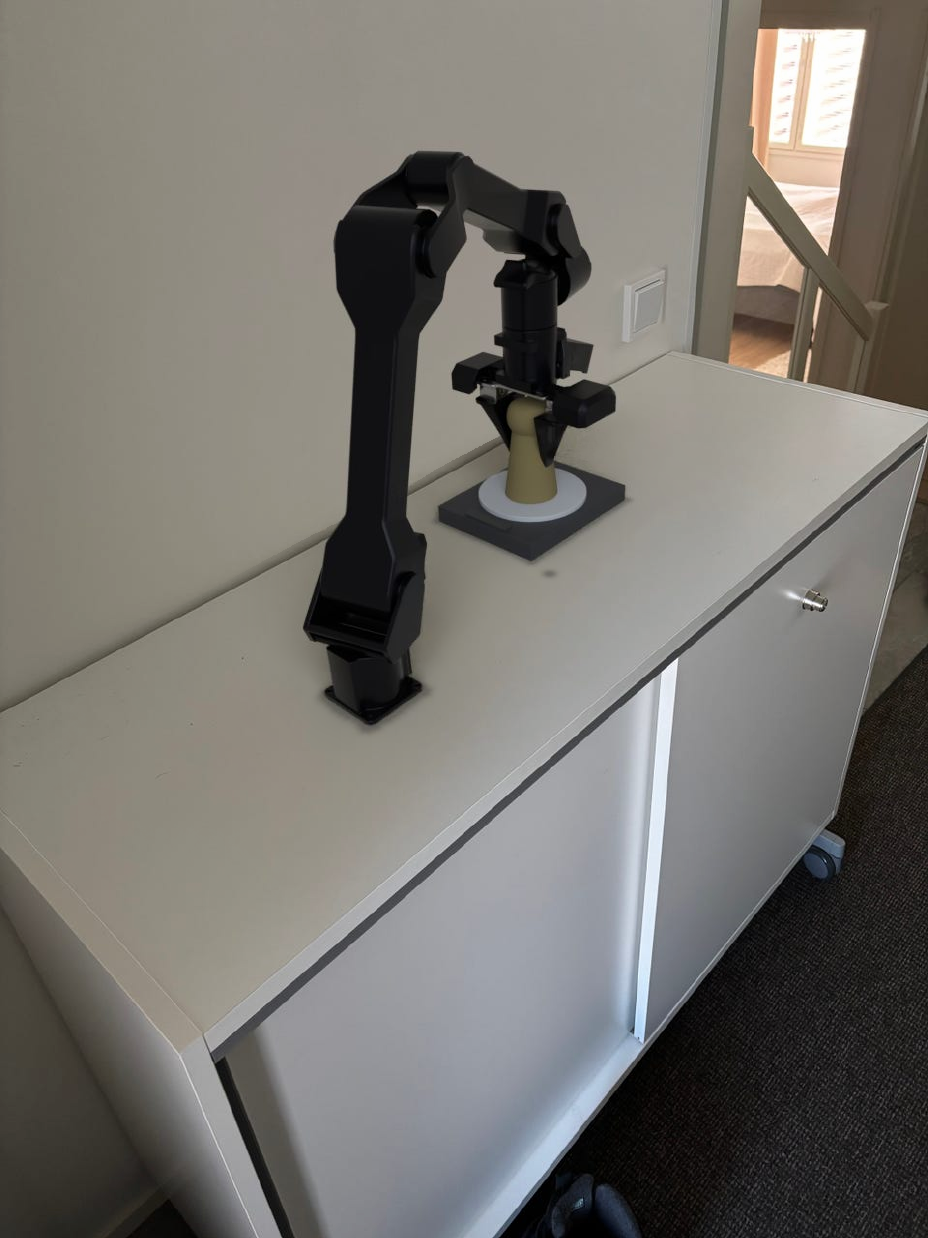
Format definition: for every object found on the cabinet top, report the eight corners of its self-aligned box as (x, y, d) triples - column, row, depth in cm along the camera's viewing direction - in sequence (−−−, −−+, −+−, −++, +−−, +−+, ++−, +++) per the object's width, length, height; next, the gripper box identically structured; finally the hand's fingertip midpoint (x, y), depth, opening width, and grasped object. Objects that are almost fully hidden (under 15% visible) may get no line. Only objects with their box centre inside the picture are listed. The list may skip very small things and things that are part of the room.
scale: (531, 561, 98) (531, 540, 97) (438, 520, 107) (437, 501, 105) (624, 500, 108) (625, 480, 107) (533, 467, 116) (532, 448, 115)
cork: (566, 485, 106) (568, 395, 100) (541, 508, 102) (541, 415, 96) (521, 475, 109) (519, 386, 103) (495, 496, 105) (491, 405, 99)
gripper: (651, 317, 93) (642, 457, 103) (512, 287, 104) (515, 416, 113) (584, 349, 87) (580, 495, 96) (443, 314, 98) (452, 448, 107)
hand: (531, 460), depth 103 cm, fingers closed on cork, 4 cm apart
